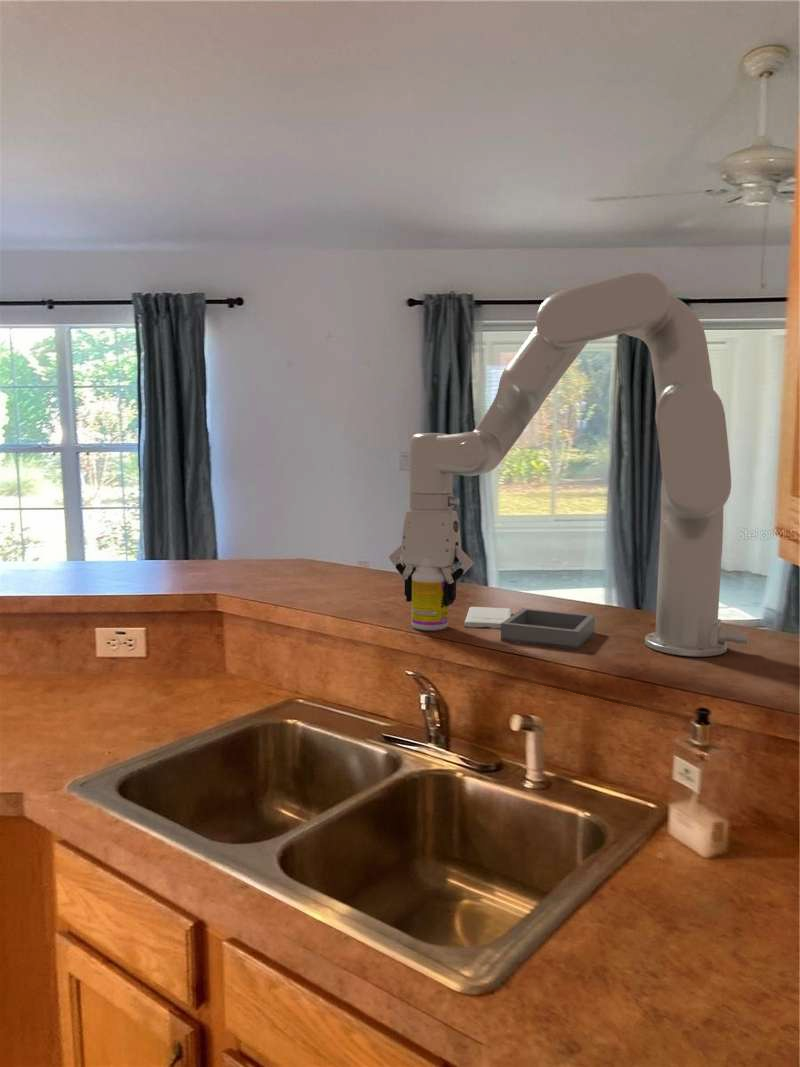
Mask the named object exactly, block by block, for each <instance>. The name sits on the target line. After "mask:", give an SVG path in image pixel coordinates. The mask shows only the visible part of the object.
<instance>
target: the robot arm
mask: <svg viewBox="0 0 800 1067" xmlns="http://www.w3.org/2000/svg"><path fill="white" fill-rule="evenodd" d="M623 334H625V335H627V336H630V337H632V338H637V339H639V340H641V341H642V342H644V344H645V345H646V346H647V348H648V351H649V353H650V357H651V365H652V372H653V377H654V379H653V380H654V390H655V400H656V403H655V404H656V407H655V416H654V417H655V424H656V431H657V439H658V446H659V449H658V450H659V456H660V457H659V458H660V466H661V475H662V477H661V478H662V479H661V483H660V484H661V486H660V527H659V530H660V531H659V545H658V547H659V548H658V550H659V551H658V566H657V567H658V569H657V570H658V572H657V592H656V593H657V594H656V609H655V610H656V611H655V631H654V632H650V633H648V634H646V635H645V638H644V639H645V640H644V644H645V645H646V646H647V647H648V648H650V649H652V650H654V651H656V652H657V651H658V652H660V653H666V654H668V655H676V656H683V657H697V658H698V657H703V658H704V657H714V656H719V655H722V654H724V653H726V652H727V650H728V643H727V642H732V643H735V644H741V645H742V644H744V645H747V644H748V637H749V636H748V635H749V632H748V631H742V630H740V629H738V628H726V627H725V626H724V625H723V626H722V625H721V624H722V623H721V622H722V620H721V619H719V608H720V603H719V602H720V593H721V592H720V588H721V573H722V556H723V543H724V542H723V538H724V506H725V505H726V503H727V501H728V499H729V497H730V495H731V491H732V473H731V472H732V471H731V461H730V450H729V441H728V440H729V439H728V432H727V431H728V430H727V421H726V419H727V418H726V412H725V409H724V408H725V407H724V405H723V401H722V399H721V397H720V395H719V394H718V393H717V392H716V390H714V384H713V377H712V368H711V362H710V356H709V349H708V348H709V347H708V343H707V337H706V333H705V330H704V327H703V325H702V322H701V321H700V319H699V317H698V316H697V315H696V313H695V312H694V311H693V309H692V308H690V307H689V306H688V305H687V304H686V303H685V302H684V301H683V300H681V299H679V298H677V297H675V296H673V295H671V294H669V292H668V288H667V286H666V285H665V283H664V282H663V281H662V279H660V278H659V277H658V276H656V275H654V274H651V273H648V272H643V271H642V272H641V271H640V272H639V271H638V272H630V273H626V274H622V275H618V276H614V277H610V278H607V279H603V280H599V281H595V282H592V283H588V284H584V285H579V286H577V287H571V288H568V289H564V290H561V291H558V292H555V293H553V294H551V295H549V296H548V297H546V298H545V300H543V302H541V304H540V305H539V308H538V310H537V312H536V315H535V327H534V328H533V329H532V330H531V332H530V333H529V335H528V337H526V339H525V341H524V342H523V343H522V345H521V346H520V348H518V350H517V351H516V353H515V354H514V356H512V359H511V360H510V361H509V363H508V364H507V365H506V367H505V368H504V370H503V371H502V372H501V376H500V378H499V381H498V382H499V383H498V388H497V390H496V394H495V397H494V399H493V402H492V403H491V405H490V406H489V408H488V410H487V411H486V413H485V414H484V415H483V417H482V418H481V420H480V421H479V422H478V424H477V425H476V426H475V428H474V429H473V431H465V432H460V433H453V434H452V433H451V434H450V433H449V434H447V433H443V432H442V433H441V432H418V433H415V434H413V435H412V437H410V441H409V509H407V510H406V513H405V517H404V521H403V526H402V527H403V528H402V534H401V545H400V546H399V547H398V548H396V549H395V551H393V552H392V553H391V554H390V555H389V556H388V558H389V561H390V562H391V563H392V565H394V567H395V569H396V570H397V572H398V573H399V574H400V575H401V578H402V579H403V580H404V596H405V597H406V598H405V600H406V602H409V603H410V602H412V574H413V573H414V572H415V571H416V570H418V567H419V566H420V565H421V561H422V560H423V559H428V560H429V562H430V564H431V565H430V566H432V567H434V568H442V570H443V573H444V575H445V578H446V583H445V584H444V605H445V606H448V607H449V606H450V605H452V604H453V603H454V602H455V600H456V599H457V582H458V581H459V580H460V578H461V577H463V576H464V574H466V572H467V571H468V570H469V569H470V568H471V567H472V566H473V565H474V561H473V560H472V559H471V557H470V556H468V554H467V553H466V552H465V551H464V550H463V549H462V540H461V531H460V524H459V522H460V521H459V518H458V512H457V511H456V510H453V509H454V507H455V506H460V502H461V501H460V497H456V496H454V493H453V475H460V476H465V477H466V476H467V477H475V476H480V475H483V474H488V473H490V472H491V471H493V470H495V469H496V468H497V467H498V466H499V464H500V463H501V462H502V461H503V460H504V458H505V457H506V455H507V454H508V453H509V452H510V450H511V449H512V448H513V447H514V445H515V443H516V442H517V441H518V439H519V438H520V436H521V435H522V434H523V432H525V430H526V428H527V427H528V425H529V423H530V422H531V421H532V419H533V418H534V416H535V415H536V414H537V412H539V410H540V408H541V407H542V405H543V403H544V402H545V400H546V399H547V397H549V395H550V394H551V392H552V391H553V389H554V388H555V387H556V385H557V384H558V383H559V381H560V380H561V379H562V378H563V375H564V374H565V373H566V372H567V370H568V369H569V368H570V367H571V365H572V364H573V363H574V361H575V360H576V359H577V358H578V356H579V355H580V353H581V352H582V351H583V349H584V348H585V347H586V345H587V344H588V343H589V342H592V341H596V340H600V339H605V338H609V337H613V336H619V335H623ZM460 563H461V565H460V566H459V567H458V569H456V568H455V566H456V565H458V564H460Z"/></svg>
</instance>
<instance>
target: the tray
mask: <svg viewBox="0 0 800 1067" xmlns="http://www.w3.org/2000/svg"><path fill="white" fill-rule="evenodd" d="M595 617H596V616H595V614H594V615H593V614H584V613H573V612H564V611H557V610H556V611H554V610H546V609H545V610H544V609H536V608H535V609H534V608H526V607H524V608H523V607H522V608H521V609H519V610H518V611H516V613H514V614H512V615H511V617H510V618H508V619H507V620H505V621H504V622H502V623H501V629H500V641H501V642H506V641H508V642H507V643H515V642H520V643H519V644H523V643H527V645H532V644H533V645H534V646H540V645H542V647H548V646H549V647H550V648H558V649H564V650H565V649H566V650H567V649H568V650H574V651H579V649H580V648H581V647H582V646H583V645H584V644H585V643H586V642H587V640H589V639H590V637H591V636H592V635H593V634H595ZM585 641H586V642H585ZM584 642H585V643H584Z"/></svg>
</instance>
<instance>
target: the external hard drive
mask: <svg viewBox="0 0 800 1067" xmlns="http://www.w3.org/2000/svg"><path fill="white" fill-rule="evenodd" d="M511 616H512V608H508V607H506V608H505V607H488V606H486V607H485V606H469V608H468V611H467V615H466V617H465V620H464V624H463V625H464V626H468V627H467V628H476V627H489V628H488V629H499V628H501V623H502V622H504V621H505V620H507V619H508V618H510V617H511ZM464 626H463V627H464Z"/></svg>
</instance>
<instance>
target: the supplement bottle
mask: <svg viewBox="0 0 800 1067" xmlns="http://www.w3.org/2000/svg"><path fill="white" fill-rule="evenodd" d="M430 565H431V564H430V562H429V560H428V559H423V560H422V561H421V565H420V566H418V568H417V570H416V571H415V572H414V573H413V574H412V601H411V612H410V613H411V620H410V621H411V626H412V627H413V628H414V629H416V630H420V631H427V632H428V631H431V632H433V631H434V632H435V631H442V630H444V629H446V628H447V627H448V625H449V605H448V606H445V605H444V584H445V583H446V578H445V575H444V573H443V570H442V568H434V567H432V566H430Z"/></svg>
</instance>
